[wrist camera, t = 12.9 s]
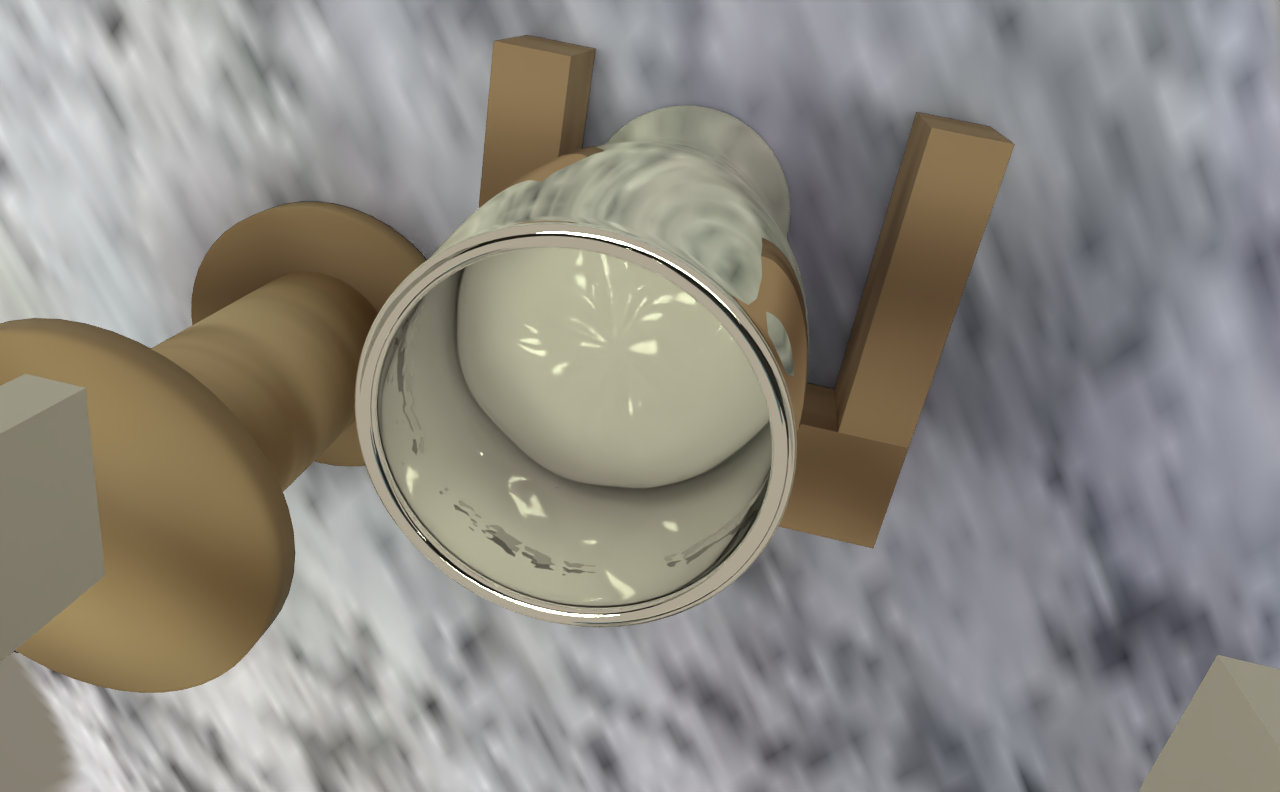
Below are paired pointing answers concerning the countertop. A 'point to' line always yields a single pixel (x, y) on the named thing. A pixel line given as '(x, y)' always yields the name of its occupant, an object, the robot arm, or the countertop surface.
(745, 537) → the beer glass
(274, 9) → the countertop surface
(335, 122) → the countertop surface
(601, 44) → the countertop surface
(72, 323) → the bobbin
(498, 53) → the u-shaped block
